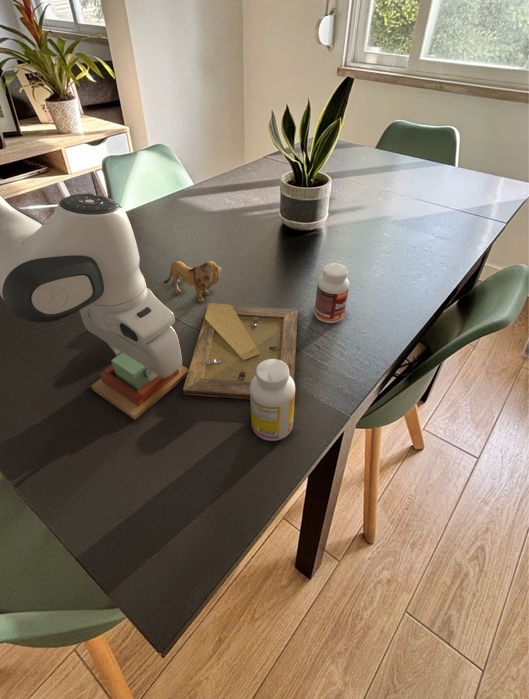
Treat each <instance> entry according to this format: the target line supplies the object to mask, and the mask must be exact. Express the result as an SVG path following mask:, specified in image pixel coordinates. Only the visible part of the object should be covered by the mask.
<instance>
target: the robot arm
mask: <svg viewBox="0 0 529 699" xmlns="http://www.w3.org/2000/svg"><path fill="white" fill-rule="evenodd" d="M56 206H57V207H56V209H55V210H54V212H53V213H52V214H51V215H50V216H49V218H48V219H47V220H46V221H45V222H44V221H42V220H41V219H40V218H39V217H37V216H35V215H34V214H32V213H30V212H29V211H26V210H25V209H22V208H20V207H17V206H16V205H15V204H12V203H11V202H8V201H7V200H6V199H5V198H4V197H3V196H2V195H1V194H0V297H1V298H2V300H3V302H4V304H5V306H6V307H7V309H8V310H9V311H10V312H11V313H12V314H13V315H15V316H16V317H18V318H20V319H22V320H25V321H27V322H31V323H40V324H41V323H52V322H56V321H59V320H61V319H64V318H66V317H68V316H71V315H72V314H75V313H77V312H78V311H79V314H80V317H81V321H82V323H83V326H84V327H85V329H86V330H87V331H88V332H89V333H91V334H92V335H94V336H95V337H97V338H99V339H100V340H102V341H103V342H105V343H106V344H107V345H108V346H109V347H110V349H111V350H112V352H113V353H114V354H115V358H116V357H117V356H118V355H120V354H121V353H124V354H126V355H127V356H129V357H130V358H132V359H133V360H135V361H137V362H138V363H140V364H141V365H143V366H144V367H145V368H146V369H144V370H143V374H144V377H145V378H147V379H148V380H150V381H152V380H153V379H155V378H156V377H157V375H159V376H160V377H162V378H167V377H169V376H170V375H172V374H173V373H174V372H176V371H177V370H178V369H179V368H180V367H181V365H183V358H182V351H181V346H180V341H179V338H178V334H177V333H176V331H175V329H174V328H173V327H172V326H173V325H174V324H175V323H176V318H175V315H174V313H173V311H172V310H171V309H169V308H168V307H167V306H166V305H165V304H164V303H162V301H161V300H159V298H157V297H156V296H155V294H154V293H153V292H152V290H151V289H150V288H148V287H147V284H146V279H145V277H144V274H143V273H142V272H141V269H140V260H141V258H140V252H139V248H138V244H137V240H136V237H135V233H134V230H133V227H132V224H131V221H130V219H129V216H128V214H127V212H126V211H125V209H124V208H123V206H121V205H120V204H119V203H118V202H117V201H115V200H113V199H112V198H109V197H107V196H105V195H101V194H96V193H75V194H71V195H68V196H65V197H63V198H62V199H60V201H59V202H58V204H57V205H56Z"/></svg>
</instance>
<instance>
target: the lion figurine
mask: <svg viewBox="0 0 529 699" xmlns="http://www.w3.org/2000/svg"><path fill="white" fill-rule="evenodd" d="M221 273H222V266H218V265H217V264H216V263H215V261H214V260H213V261H212V260H208V261H205V262H204V263H202V264H200V265H198V266H194V267H190V266H187V265H186V264H185V263H184V262H183V261H180V260H179V261H172V263H171V265H170V270H169V276H168V278H167V279H165V280H164V281H163V284H168V283H169V282H170V281H171V280H172V278H173V287H174V291H175V293H176V295H177V294H178V295H180V294H181V293H182V290H181V289H180V288H179V285H178V284H180V283H181V280H182V281H183V282H184V283H186V284H188V285H190V286H192V287H194V289H195V293H196V298H197V301H198V302H199V303H202V302H204V301H205V298H203V295H204V296H208V295H209V291H208V290H209V289H210V288H211V287H212V286H214V285H215V284H217V283H218V282H219V280H220V278H221ZM179 278H181V280H180V279H179Z"/></svg>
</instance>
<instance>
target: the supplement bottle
mask: <svg viewBox="0 0 529 699" xmlns="http://www.w3.org/2000/svg"><path fill="white" fill-rule="evenodd" d="M295 397H296V383H295V380H294V381H293V379H292V378H291V377H290V376H289V368H288V366H287V365H286V364H285V363H284V362H283V361H280V360H277V359H268V360H265V361H262V362H261V363H260V364H259V365H258V366H257V369H256V376H255V377H254V378H253V379H252V381H251V384H250V399H249V400H250V418H251V419H250V420H251V421H250V422H251V427H252V431H253V432H254V433H255V435H256V436H258V437H259V438H260V439H262V440H264V441H268V442H269V441H270V442H276V441H281V440H283V439H284V438H286V437H287V436H288V435H290V433H291V431H292V429H293V427H294V416H295V399H296V398H295Z"/></svg>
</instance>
